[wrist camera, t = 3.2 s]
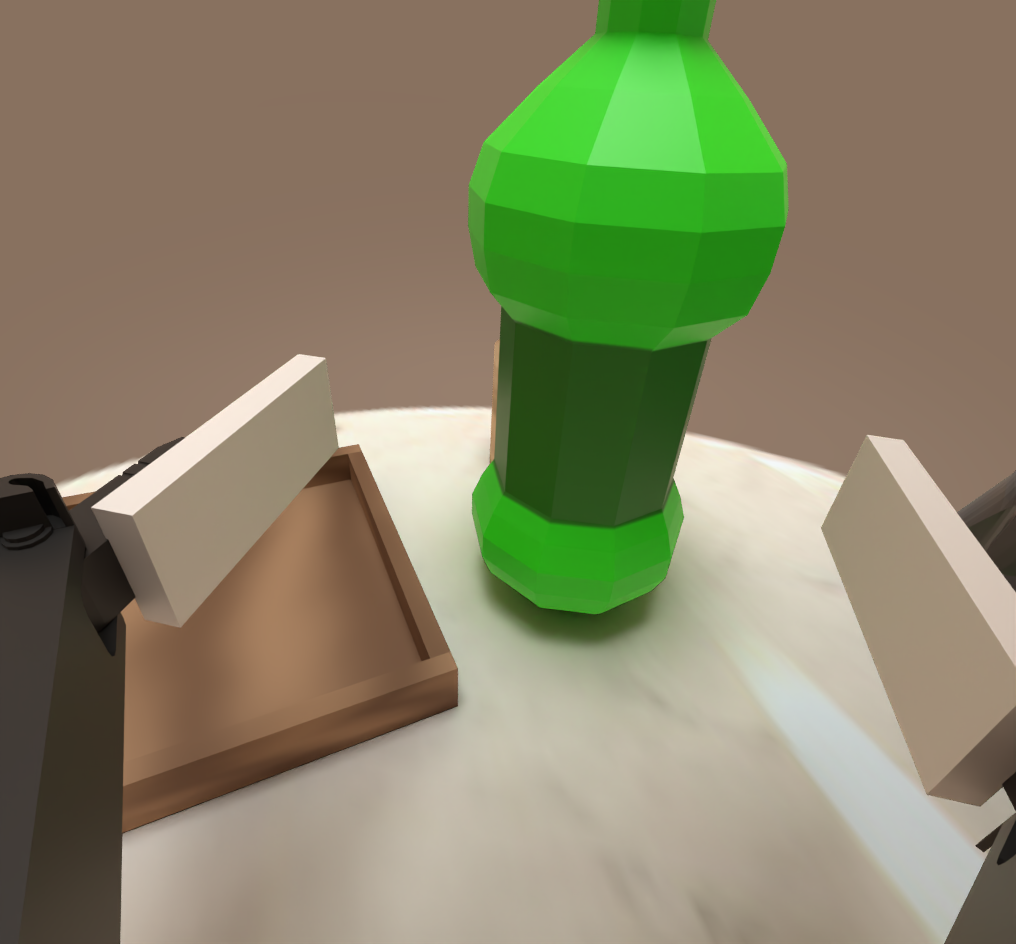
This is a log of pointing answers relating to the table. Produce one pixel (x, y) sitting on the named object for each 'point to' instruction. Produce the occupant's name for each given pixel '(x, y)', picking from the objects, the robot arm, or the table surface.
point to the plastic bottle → (613, 294)
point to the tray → (283, 653)
